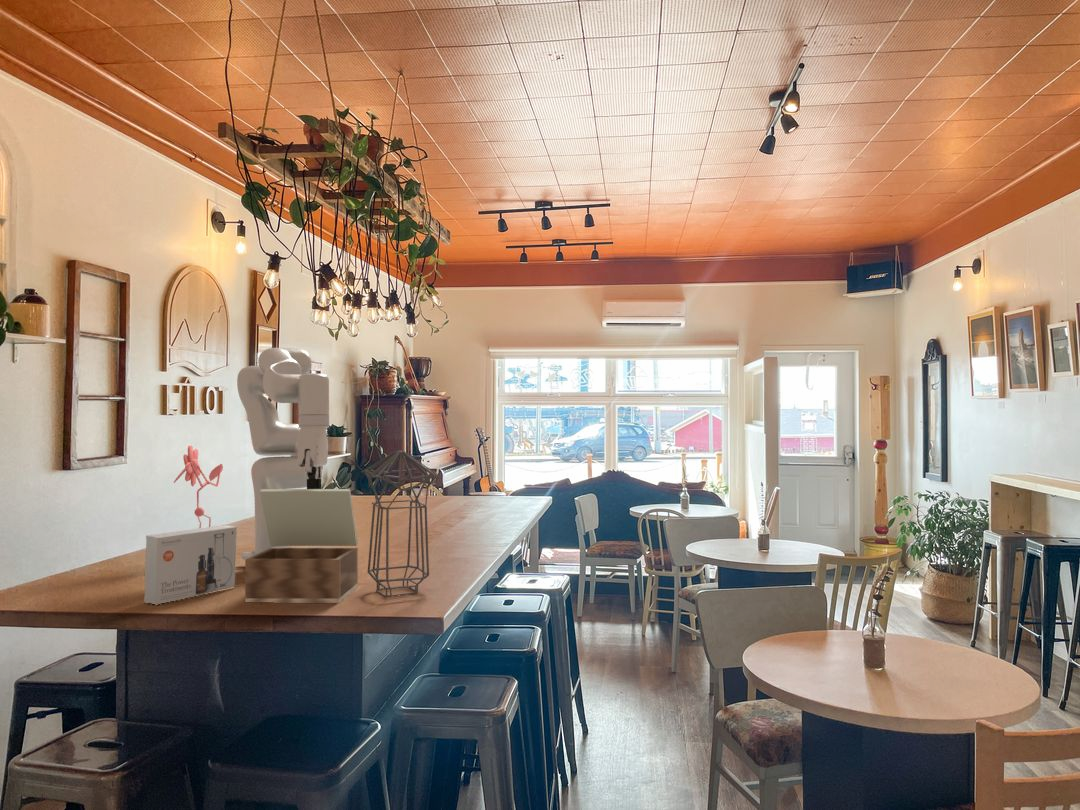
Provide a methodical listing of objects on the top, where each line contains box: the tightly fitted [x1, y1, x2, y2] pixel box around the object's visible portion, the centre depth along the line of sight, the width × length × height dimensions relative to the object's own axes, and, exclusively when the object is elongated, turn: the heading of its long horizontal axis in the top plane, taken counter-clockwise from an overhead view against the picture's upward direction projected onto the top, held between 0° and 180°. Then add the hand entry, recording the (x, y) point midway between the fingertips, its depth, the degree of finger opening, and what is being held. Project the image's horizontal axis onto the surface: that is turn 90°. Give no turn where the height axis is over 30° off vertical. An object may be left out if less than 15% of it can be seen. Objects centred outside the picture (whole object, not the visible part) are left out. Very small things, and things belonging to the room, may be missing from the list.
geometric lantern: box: [360, 450, 439, 598], centre depth 182 cm, size 16×16×35 cm
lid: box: [260, 488, 358, 547], centre depth 185 cm, size 22×16×1 cm
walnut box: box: [244, 547, 359, 604], centre depth 181 cm, size 22×16×10 cm
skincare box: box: [143, 524, 238, 605], centre depth 180 cm, size 21×5×16 cm, turn 148°
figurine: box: [173, 444, 224, 529], centre depth 224 cm, size 15×26×35 cm, turn 5°
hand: (314, 494), depth 188 cm, fingers closed
